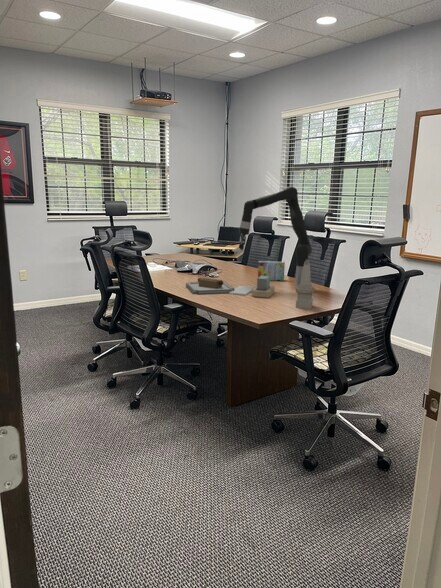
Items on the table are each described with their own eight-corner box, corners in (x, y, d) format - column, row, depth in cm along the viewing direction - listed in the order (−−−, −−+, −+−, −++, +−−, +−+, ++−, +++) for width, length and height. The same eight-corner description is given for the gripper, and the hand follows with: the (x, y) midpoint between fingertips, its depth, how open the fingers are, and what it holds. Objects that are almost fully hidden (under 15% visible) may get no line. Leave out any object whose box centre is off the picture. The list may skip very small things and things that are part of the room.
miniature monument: (312, 308, 268) (315, 260, 261) (294, 307, 270) (297, 259, 263) (313, 304, 277) (316, 258, 271) (296, 303, 280) (299, 257, 273)
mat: (255, 288, 323) (255, 286, 323) (245, 295, 299) (245, 294, 299) (239, 286, 327) (240, 285, 327) (229, 293, 303) (229, 292, 303)
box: (269, 292, 309) (270, 276, 306) (265, 296, 298) (265, 279, 295) (260, 292, 311) (261, 275, 308) (256, 295, 300) (257, 278, 297)
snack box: (283, 279, 358) (284, 261, 355) (283, 281, 352) (284, 262, 349) (257, 278, 360) (258, 260, 357) (257, 280, 354) (258, 261, 351)
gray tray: (193, 295, 299) (193, 284, 297) (185, 286, 327) (185, 276, 326) (235, 293, 307) (235, 283, 305) (223, 285, 335) (223, 275, 333)
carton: (274, 292, 312) (275, 285, 311) (268, 298, 293) (268, 291, 292) (258, 290, 316) (258, 284, 315) (250, 296, 297) (250, 290, 296)
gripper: (251, 229, 319) (246, 251, 322) (248, 227, 332) (244, 248, 336) (241, 227, 318) (236, 249, 321) (239, 225, 332) (234, 246, 335)
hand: (240, 248), depth 329 cm, fingers open, 8 cm apart
